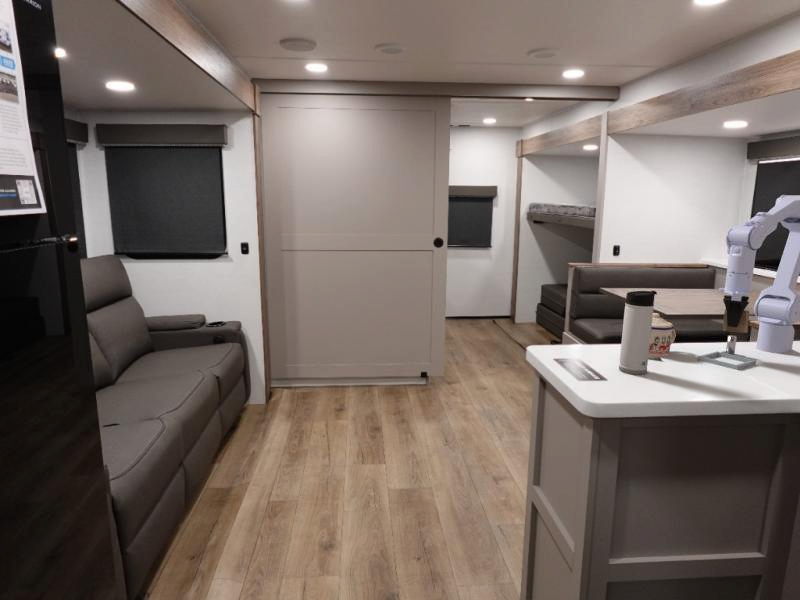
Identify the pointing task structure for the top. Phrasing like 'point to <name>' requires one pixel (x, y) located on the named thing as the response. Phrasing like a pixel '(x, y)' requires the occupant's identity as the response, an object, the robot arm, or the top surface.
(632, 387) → the top surface
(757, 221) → the robot arm
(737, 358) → the tray
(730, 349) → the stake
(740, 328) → the brown wooden cube
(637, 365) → the travel mug
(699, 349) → the top surface
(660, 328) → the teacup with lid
